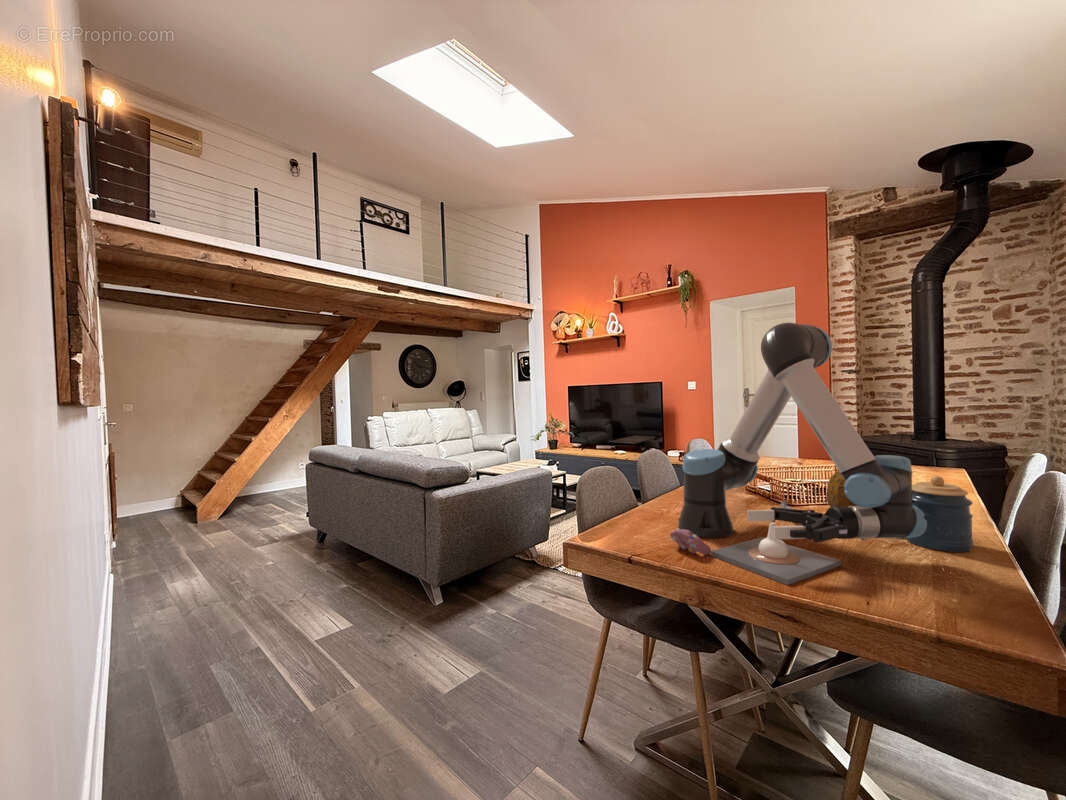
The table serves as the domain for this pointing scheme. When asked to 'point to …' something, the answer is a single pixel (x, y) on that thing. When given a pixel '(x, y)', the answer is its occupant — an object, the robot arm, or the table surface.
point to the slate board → (776, 561)
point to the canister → (943, 516)
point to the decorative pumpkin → (837, 491)
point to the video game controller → (690, 541)
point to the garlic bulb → (773, 545)
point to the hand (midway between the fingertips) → (759, 523)
